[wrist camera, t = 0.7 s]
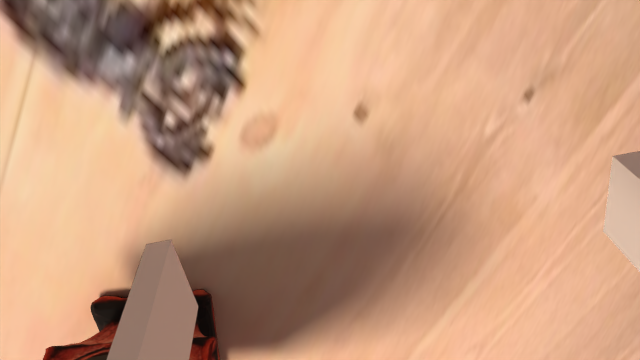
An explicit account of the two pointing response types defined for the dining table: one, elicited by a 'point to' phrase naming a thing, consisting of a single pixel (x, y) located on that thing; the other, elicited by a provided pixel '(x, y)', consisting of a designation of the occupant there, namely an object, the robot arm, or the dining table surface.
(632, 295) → the dining table surface
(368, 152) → the dining table surface
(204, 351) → the vase
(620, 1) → the dining table surface
